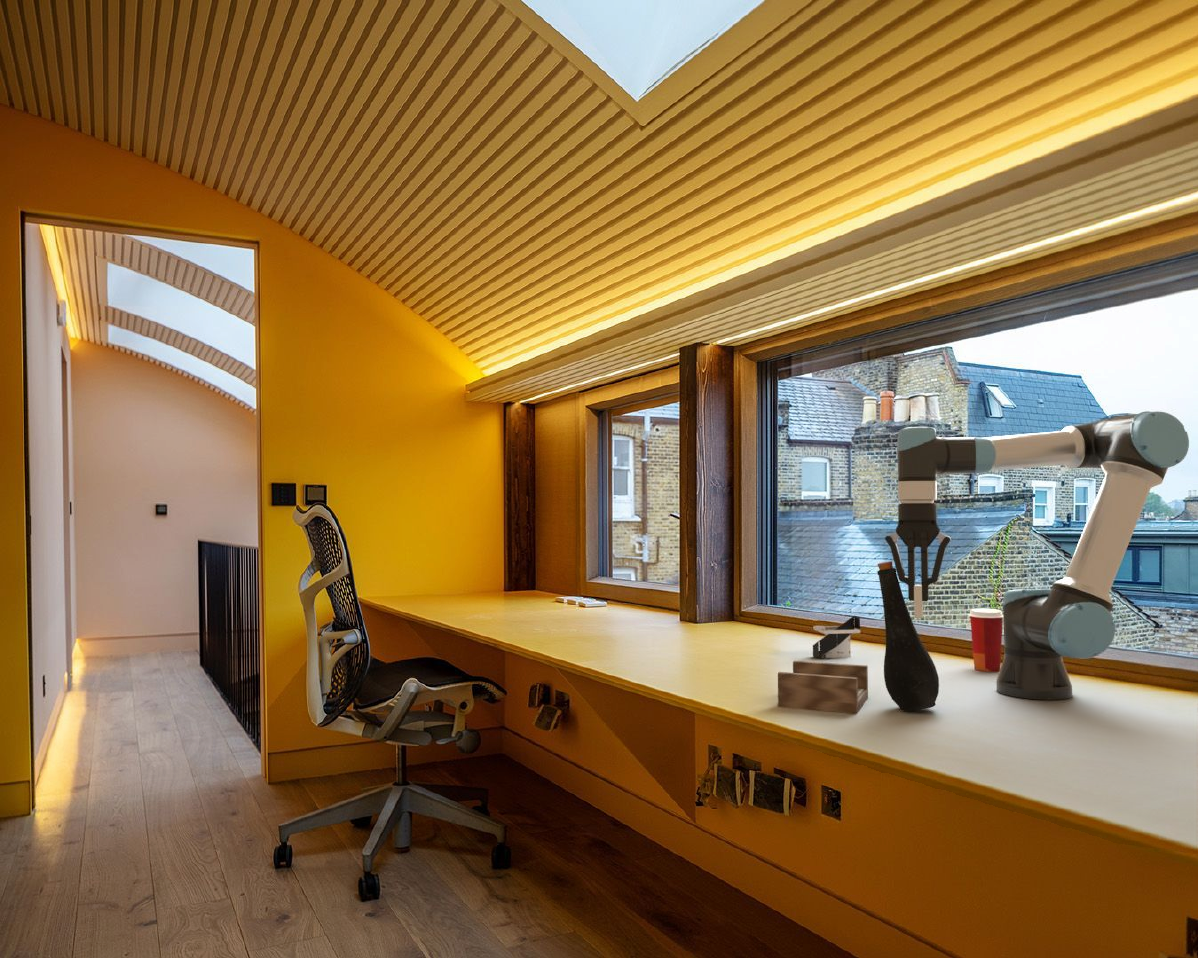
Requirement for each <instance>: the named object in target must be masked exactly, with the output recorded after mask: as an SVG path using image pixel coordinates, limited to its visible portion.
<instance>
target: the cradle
mask: <svg viewBox="0 0 1198 958" xmlns="http://www.w3.org/2000/svg"><path fill="white" fill-rule="evenodd" d="M868 667H869V666H868V665H867V664H866V665H865V664H853V663H852V664H851V663H850V664H849V663H837V662H836V663H835V662H834V663H833V662H824V661H823V662H819V661H806V660H793V661H792V672H788V671H786V672H785V671H779V672H777V704H778V705H777V707H778V708H789V709H790V708H791V709H799V710H810V711H811V710H812V711H821V710H824V711H823V712H832V711H836V712H835V713H843V712H845V713H844V714H855V715H856V714H858V713H859V712H860V710H861V708H863V706H864V704H865V703H866V701H867V700H868V698H869V680H868V679H869V677H868V676H869V675H868V674H869V672H868V671H869V669H868Z"/></svg>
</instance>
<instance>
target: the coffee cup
mask: <svg viewBox="0 0 1198 958" xmlns="http://www.w3.org/2000/svg"><path fill="white" fill-rule="evenodd" d="M967 616H969V619H970V620H969V621H970V630H971V633H970V634H971V644H972V656H973V658H972V659H973V665H974V666H973V667H974V670H976V671H979V672H986V673H987V672H989V673H991V672H992V673H995V672H999V671H1000V668H1001V665H1002V661H1001V660H1002V645H1003V644H1002V641H1003V639H1002V638H1003V623H1004V618H1003V610H1000V609H995V608H973V609H972V608H971V609H970V611H969V614H967Z"/></svg>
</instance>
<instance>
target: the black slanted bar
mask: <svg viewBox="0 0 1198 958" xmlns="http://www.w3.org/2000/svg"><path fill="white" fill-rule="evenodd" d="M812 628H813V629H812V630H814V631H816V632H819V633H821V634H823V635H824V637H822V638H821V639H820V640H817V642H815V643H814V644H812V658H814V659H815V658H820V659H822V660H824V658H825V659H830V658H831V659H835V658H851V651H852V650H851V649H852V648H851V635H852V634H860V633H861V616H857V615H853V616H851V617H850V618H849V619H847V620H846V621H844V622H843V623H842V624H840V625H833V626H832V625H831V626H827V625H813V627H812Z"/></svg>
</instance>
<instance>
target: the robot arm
mask: <svg viewBox="0 0 1198 958" xmlns="http://www.w3.org/2000/svg"><path fill="white" fill-rule="evenodd" d="M896 442H897V445H896V446H897V447H896V452H897V455H896V456H897V475H898V476H897V500H898V501H899V502H901V503H899V504H898V505H897V509H898V513H897V515H898V517H897V518H898V519H897V521H898V522H897V526H896V528H895V531H894V532H892V533H891V534H889V535H886V536H885V541H886V543H887V545H888V546H889V548H890V551H891V555H892V558H893V564H894V566H895V567H894V568H896V574H897V577H898V581H899V582H901V583H904V584H906V585H907V587H908V588H907V589H908V590H907V591H908V592H907V593H908V597H907V598H908V600H909V602H913V613H914V614H913V615H914V619H923V617H924V602H928V601H929V586H930V585H933V584H936V583H937V582H938V580H939V576H940V572H941V568H942V564H943V559H944V556H945V551H946V549H947V546H948V545H949V544H950V542H951V540H952V538H951V537H950V536H949V535H946V534H945V533H943V532H941V528H940V526H939V525H938V505H937V503H935V501H936V500H937V499H938V495H937V494H938V491H937V489H938V488H937V476H947V475H948V476H949V475H959V474H960V475H963V474H964V475H965V474H973V475H977V474H986V473H987V474H988V473H990V472H995V471H1002V470H1003V471H1005V470H1014V469H1017V470H1018V469H1028V468H1029V469H1030V468H1042V467H1043V468H1044V467H1055V466H1065V467H1066V468H1068V469H1102V471H1103V472H1104V474H1105V476H1104V478H1103V480H1102V484H1101V486H1100V489H1099V491H1098V493H1097V495H1096V498H1095V500H1094V503H1093V506H1092V508H1091V511H1090V513H1089V515H1088V518H1087V521H1086V523H1085V525H1084V528H1083V530H1082V533H1081V535H1080V539H1079V540H1078V543H1077V546H1076V548H1075V550H1074V553H1073V555H1072V558H1071V560H1070V564H1069V565H1068V568H1067V571H1066V573H1065V575H1064V577H1063V578H1062V579H1059V580H1056V581H1054V582H1053V584H1052V585H1051V588H1030V589H1029V588H1028V589H1027V588H1026V589H1009V590H1006V591H1005V593H1004V594H1003V601H1002V606H1001V607H1002V609H1003V610H1002V615H1003V648H1004V652H1003V653H1004V654H1003V660H1002V661H1001V665H1000V671H998V675H997V677H996V681H995V683H996V691H997V693H1001V694H1003V695H1006V696H1010V697H1015V698H1022V699H1029V700H1042V701H1043V700H1045V701H1046V700H1049V701H1051V700H1054V701H1056V700H1064V699H1069V698H1072V697H1073V686H1072V685H1073V684H1072V682H1071V679H1070V676H1069V674H1068V671H1067V667H1066V665H1065V663H1064V660H1063V657H1065V658H1070V659H1071V658H1072V659H1080V660H1082V659H1091V658H1095V657H1098V656H1100V654H1103V653H1104V652H1105V651H1106V650H1107V649H1108V648H1109V647H1110V646H1111V644H1112V642H1113V641H1114V638H1115V635H1116V624H1115V623H1114V617H1113V615H1112V614H1111V612H1112V610H1113V607H1114V602H1113V600H1112V598H1111V597H1110V591H1111V590H1112V587H1113V584H1114V582H1115V579H1116V576H1117V574H1118V572H1119V568H1120V566H1121V564H1122V562H1123V559H1124V556H1125V553H1126V551H1127V549H1128V546H1129V544H1130V541H1131V539H1132V536H1133V534H1134V531H1135V529H1136V526H1137V523H1138V521H1139V518H1140V517H1141V514H1142V511H1143V509H1144V506H1145V503H1146V501H1147V498H1148V496H1149V494H1150V491H1151V489H1152V488H1154V487H1156V486H1159V485H1162V484H1163V482H1164V478H1165V476H1166V474H1167V473H1168V472H1167V471H1168V470H1169V468H1171V467H1175V466H1176V465H1178V464H1180V463H1181V462H1182V461H1183V460H1184V459H1185V458H1186V456H1187V454H1188V452H1189V447H1190V440H1189V434H1188V432H1187V431H1186V430H1185V426H1184V424H1183V423H1182V422H1181V421H1180V420H1179V419H1178V418H1177V417H1176V416H1174V415H1172V414H1170V413H1168V412H1165V411H1147V410H1146V411H1141V412H1140V413H1135V414H1127V415H1126V414H1125V415H1120V416H1112V417H1109V418H1103V419H1100V420H1097V421H1091V422H1088V423H1083V424H1077V425H1069V426H1065V427H1064V428H1063V429H1062V430H1061V431H1060V430H1057V431H1048V432H1037V433H1036V432H1035V433H1024V434H1013V435H1012V434H1011V435H1002V436H1001V435H999V436H991V437H990V436H989V437H987V436H985V437H977V436H973V437H972V436H970V437H969V436H965V437H964V436H963V437H962V436H960V437H959V436H958V437H956V436H955V437H942V436H941V437H940V436H938V435H937V431H936V428H934V427H930V426H909V427H904V428H901V429H900V430H899V431H898V434H897V441H896ZM937 537H938V540H937V543H938V545H939V546H938V547H937V548H938V549H937V552H936V557H935V561H934V565H933V569H932V573H931V576H930V577H929V547H930V546H931V545H932V543H933V542H934V541H935V539H937ZM899 538H900V540H901V541H902V542H903V543H904V545H905V546H906V547H907V549H906V550H907V576H906V572H905V569H904V565H903V561H902V558H901V553H900V550H899V546H898V544H897V543H898V542H899ZM917 547H918V548H920V566H921V567H920V570H921V573H920V576H921V577H920V580H921V584H916V548H917Z"/></svg>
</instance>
